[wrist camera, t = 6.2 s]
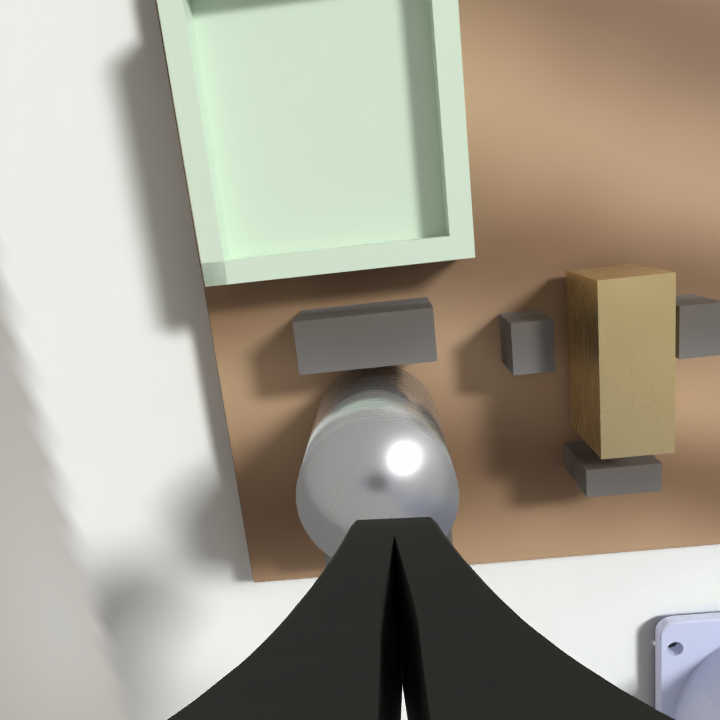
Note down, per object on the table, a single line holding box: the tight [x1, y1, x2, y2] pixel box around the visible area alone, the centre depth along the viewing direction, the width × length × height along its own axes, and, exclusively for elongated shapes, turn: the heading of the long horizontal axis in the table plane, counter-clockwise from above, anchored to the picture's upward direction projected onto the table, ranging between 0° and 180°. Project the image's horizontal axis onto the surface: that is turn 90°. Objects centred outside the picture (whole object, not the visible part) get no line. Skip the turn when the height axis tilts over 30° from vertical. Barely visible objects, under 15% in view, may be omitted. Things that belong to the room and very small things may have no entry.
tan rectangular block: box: [566, 263, 676, 459], centre depth 16 cm, size 4×2×2 cm, turn 6°
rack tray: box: [157, 0, 475, 287], centre depth 16 cm, size 8×7×2 cm
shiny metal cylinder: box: [296, 366, 459, 558], centre depth 16 cm, size 4×4×5 cm
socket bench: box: [156, 0, 720, 582], centre depth 17 cm, size 18×17×3 cm
